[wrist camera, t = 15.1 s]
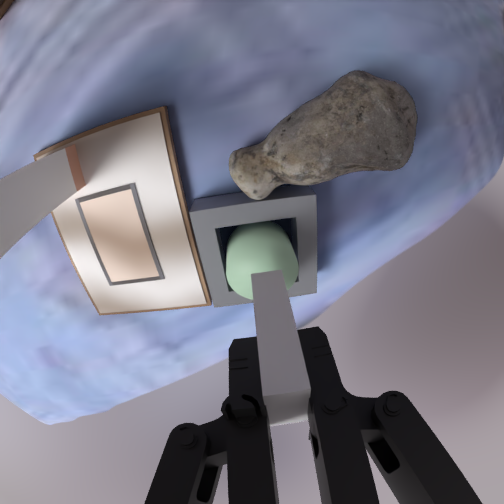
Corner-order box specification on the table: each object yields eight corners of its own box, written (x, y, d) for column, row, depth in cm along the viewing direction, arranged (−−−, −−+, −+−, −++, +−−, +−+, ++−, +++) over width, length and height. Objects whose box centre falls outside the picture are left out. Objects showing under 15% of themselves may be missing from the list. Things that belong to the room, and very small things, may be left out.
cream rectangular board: (38, 152, 13) (31, 155, 13) (166, 105, 13) (163, 106, 12) (101, 310, 21) (98, 316, 20) (211, 300, 20) (211, 306, 20)
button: (221, 224, 16) (219, 246, 14) (288, 215, 16) (297, 235, 14) (232, 278, 18) (232, 304, 16) (291, 269, 18) (299, 294, 16)
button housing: (193, 199, 16) (189, 212, 15) (307, 183, 16) (316, 194, 14) (215, 289, 20) (214, 307, 18) (309, 275, 20) (316, 292, 18)
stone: (239, 191, 17) (344, 266, 14) (192, 158, 12) (338, 257, 9) (321, 83, 16) (425, 135, 13) (303, 27, 11) (442, 80, 8)
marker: (44, 157, 13) (-96, 253, 3) (74, 144, 13) (-84, 240, 3) (55, 195, 14) (-66, 314, 4) (85, 185, 14) (-47, 314, 4)
